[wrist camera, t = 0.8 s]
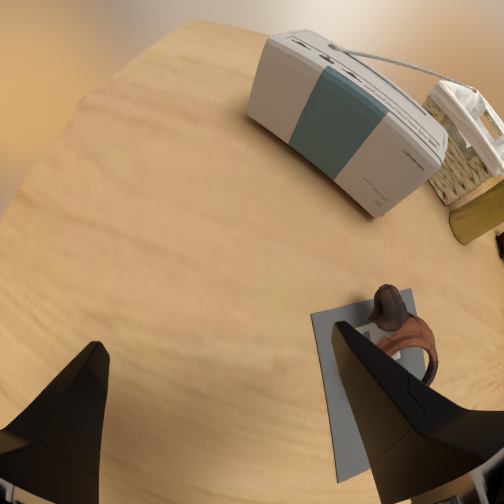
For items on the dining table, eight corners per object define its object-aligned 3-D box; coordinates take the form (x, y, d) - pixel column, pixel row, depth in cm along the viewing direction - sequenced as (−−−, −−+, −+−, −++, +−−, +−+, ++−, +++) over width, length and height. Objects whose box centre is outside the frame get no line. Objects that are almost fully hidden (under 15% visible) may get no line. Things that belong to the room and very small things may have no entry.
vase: (460, 209, 36) (515, 170, 23) (472, 241, 35) (532, 208, 21) (444, 212, 35) (506, 169, 21) (458, 248, 33) (525, 211, 20)
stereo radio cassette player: (240, 121, 32) (279, -22, 13) (278, 98, 35) (323, -18, 16) (370, 227, 30) (494, 126, 12) (392, 190, 33) (488, 99, 15)
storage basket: (443, 215, 35) (508, 170, 21) (387, 133, 38) (435, 75, 24) (480, 182, 42) (522, 150, 28) (439, 124, 45) (475, 86, 32)
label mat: (428, 432, 23) (429, 432, 23) (337, 482, 20) (338, 483, 19) (409, 288, 29) (411, 288, 28) (310, 314, 25) (311, 313, 25)
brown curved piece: (420, 352, 26) (451, 385, 18) (351, 385, 28) (366, 427, 20) (399, 263, 26) (436, 277, 18) (321, 298, 27) (333, 327, 19)
